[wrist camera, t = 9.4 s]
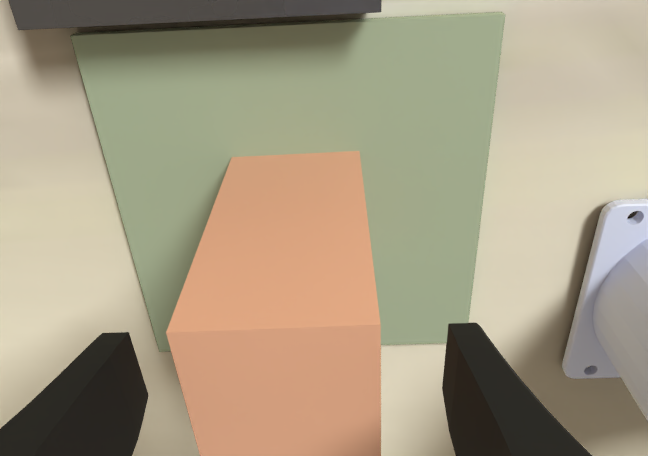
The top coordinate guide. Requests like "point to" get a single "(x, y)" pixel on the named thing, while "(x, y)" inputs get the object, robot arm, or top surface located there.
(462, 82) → the rubber mat
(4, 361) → the top surface
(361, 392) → the peg
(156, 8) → the metal collar
